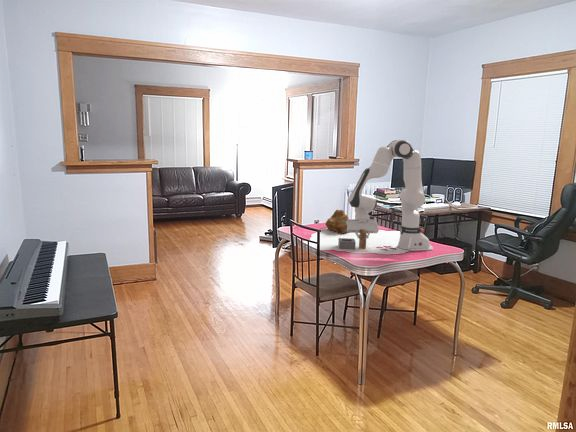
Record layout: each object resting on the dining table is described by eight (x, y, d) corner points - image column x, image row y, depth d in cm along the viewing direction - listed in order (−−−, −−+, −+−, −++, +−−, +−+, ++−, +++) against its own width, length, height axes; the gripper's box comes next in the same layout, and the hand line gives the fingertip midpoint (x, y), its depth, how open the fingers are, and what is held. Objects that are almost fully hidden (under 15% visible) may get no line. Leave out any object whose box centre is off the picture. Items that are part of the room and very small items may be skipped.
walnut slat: (365, 247, 276) (366, 229, 274) (365, 248, 273) (366, 230, 271) (358, 247, 276) (359, 229, 274) (359, 248, 274) (360, 230, 271)
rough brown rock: (323, 228, 341) (322, 209, 337) (343, 226, 342) (343, 208, 339) (329, 236, 318) (328, 216, 315) (351, 234, 320) (350, 214, 316)
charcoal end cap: (353, 246, 280) (354, 238, 279) (355, 249, 271) (355, 242, 270) (338, 245, 280) (338, 238, 279) (339, 249, 271) (339, 241, 270)
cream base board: (368, 248, 280) (369, 246, 280) (371, 253, 270) (371, 250, 269) (338, 247, 281) (338, 245, 281) (339, 252, 270) (339, 249, 270)
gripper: (346, 216, 279) (347, 234, 271) (378, 217, 278) (379, 235, 270) (345, 222, 284) (346, 240, 276) (376, 222, 283) (378, 241, 275)
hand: (363, 237), depth 273 cm, fingers closed on walnut slat, 4 cm apart
